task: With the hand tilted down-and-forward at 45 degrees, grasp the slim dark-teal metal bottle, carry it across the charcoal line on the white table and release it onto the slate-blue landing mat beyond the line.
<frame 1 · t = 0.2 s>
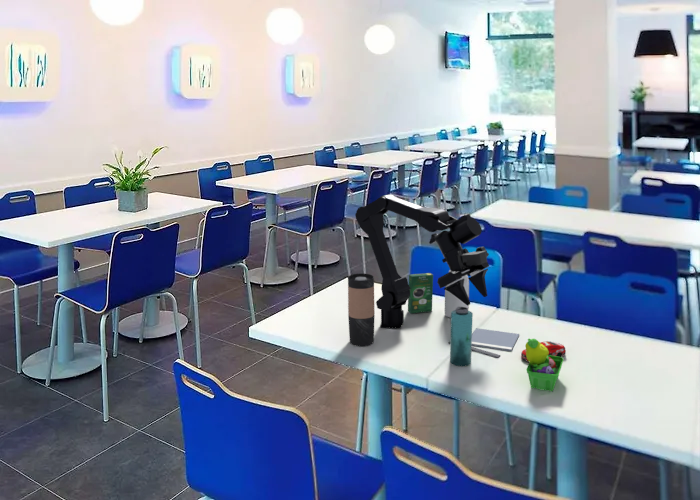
hand: (477, 300, 171), 15 cm above the table, tool tilted 35°, fingers open, 9 cm apart
travel mug: (361, 342, 181), on the table
coffee box: (420, 312, 206), on the table
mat: (492, 339, 181), on the table
milk bottle: (456, 315, 202), on the table
line: (473, 349, 174), on the table
fruit basket: (541, 382, 154), on the table
bottle: (460, 362, 166), on the table
race car: (542, 358, 169), on the table
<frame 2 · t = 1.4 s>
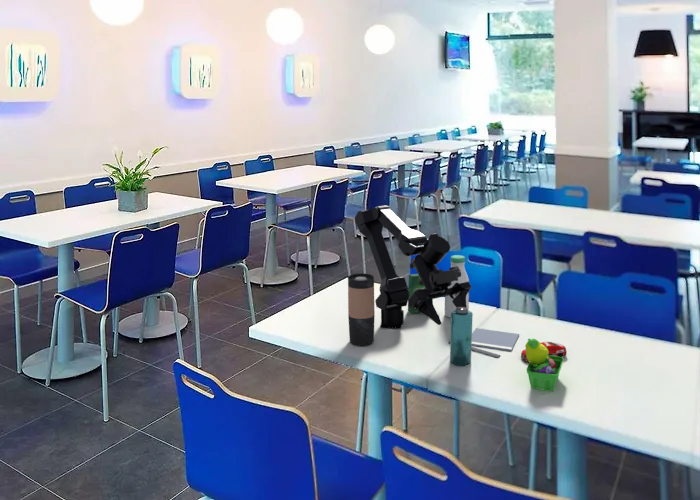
hand: (453, 321, 166), 11 cm above the table, tool tilted 45°, fingers open, 9 cm apart
nothing on the table moved.
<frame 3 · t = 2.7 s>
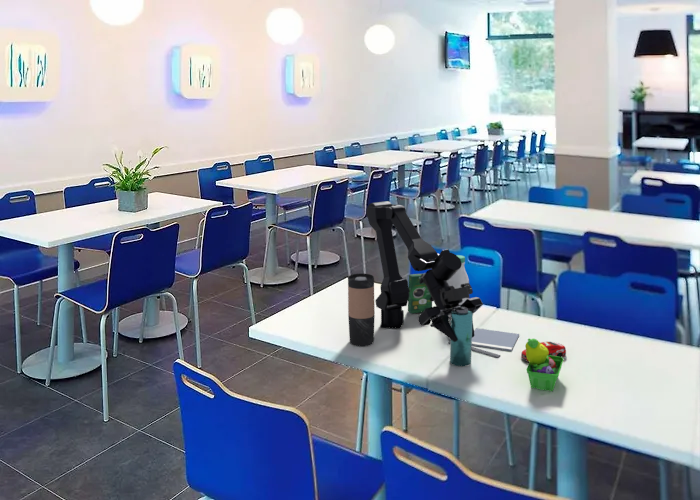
hand: (464, 339, 163), 7 cm above the table, tool tilted 45°, fingers closed on bottle, 6 cm apart
bottle: (460, 362, 166), on the table, touching gripper
everything else where it was.
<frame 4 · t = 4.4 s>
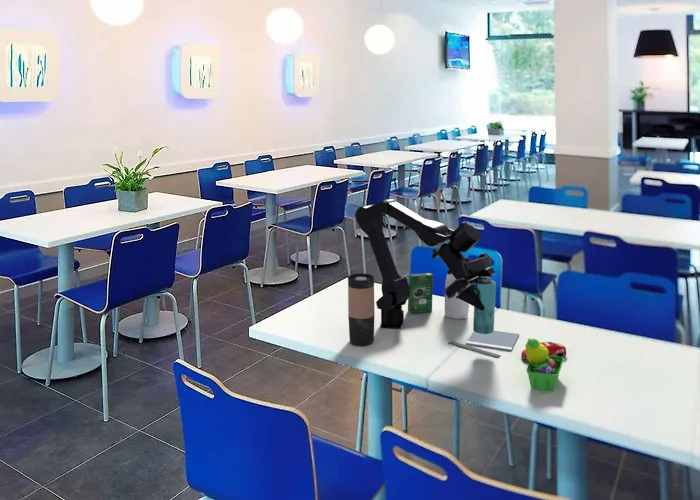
hand: (488, 307, 169), 13 cm above the table, tool tilted 45°, fingers closed on bottle, 6 cm apart
bottle: (483, 330, 172), point 6 cm above the table, touching gripper
everything else where it was.
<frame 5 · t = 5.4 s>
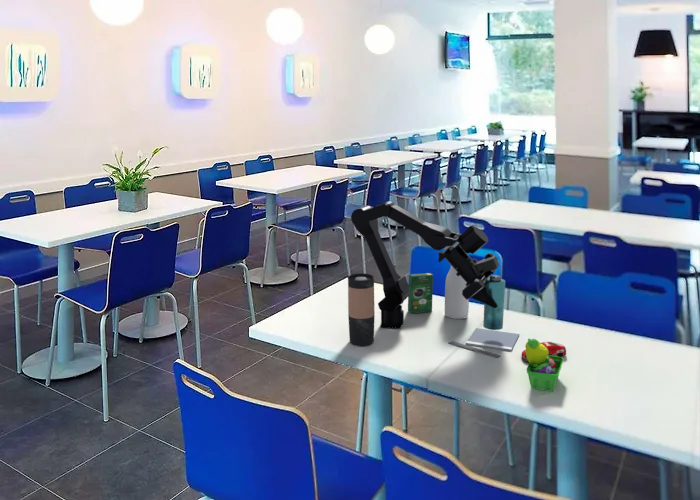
hand: (498, 304, 178), 11 cm above the table, tool tilted 45°, fingers closed on bottle, 6 cm apart
bottle: (493, 326, 180), point 4 cm above the table, touching gripper
everything else where it was.
when the fingers open (9 cm above the table, at t = 6.2 s): bottle drops 1 cm, resting on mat.
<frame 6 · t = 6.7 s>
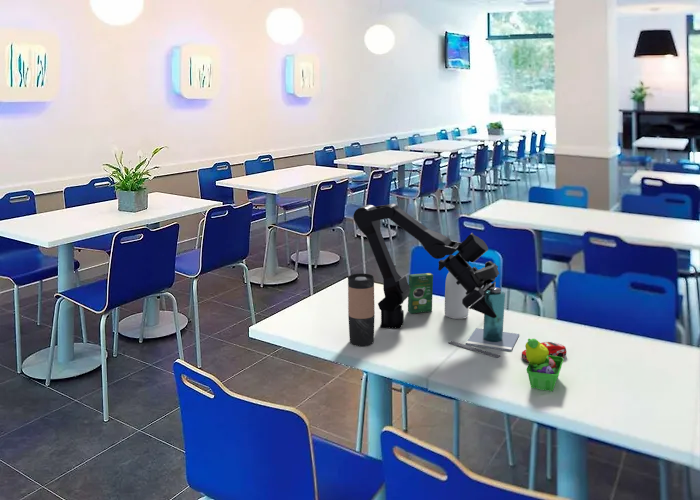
hand: (498, 312, 178), 9 cm above the table, tool tilted 45°, fingers open, 9 cm apart
bottle: (492, 338, 181), resting on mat
everything else where it was.
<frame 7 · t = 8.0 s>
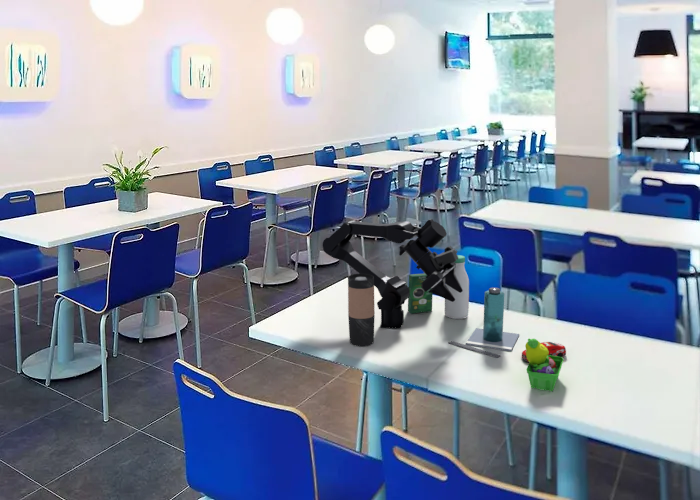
hand: (458, 296, 182), 12 cm above the table, tool tilted 45°, fingers open, 9 cm apart
nothing on the table moved.
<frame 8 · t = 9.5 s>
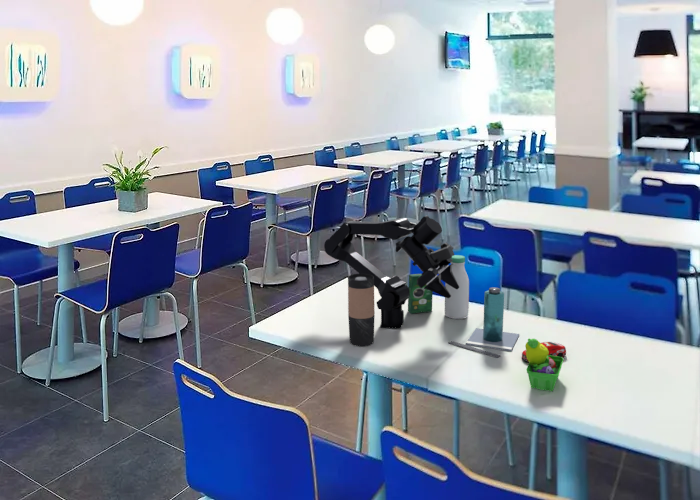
hand: (454, 292, 181), 14 cm above the table, tool tilted 45°, fingers open, 9 cm apart
nothing on the table moved.
at the end: bottle inside the target area on the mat (0.1 cm from its centre), point 0.4 cm above the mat's base; the gripper is holding nothing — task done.
